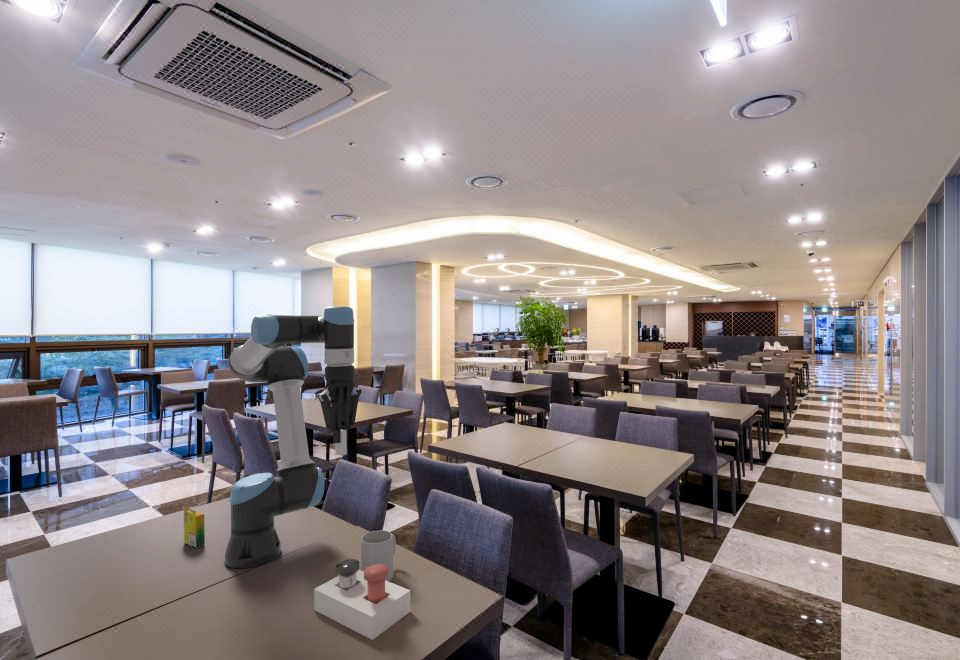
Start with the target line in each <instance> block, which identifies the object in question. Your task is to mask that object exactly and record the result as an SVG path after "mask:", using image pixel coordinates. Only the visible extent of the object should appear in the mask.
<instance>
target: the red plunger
mask: <svg viewBox="0 0 960 660" xmlns="http://www.w3.org/2000/svg"><path fill="white" fill-rule="evenodd" d="M387 576H388V567H387V566H386V565H383V564H375V565H371V566H369V567H367V568H366V569H365V570H364V579H365V580H366V581H367V588H368V601H370V602H372V603H374V604H377V603H379V602H380V601H382V600H383V599H385V578H386V577H387Z"/></svg>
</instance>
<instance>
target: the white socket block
mask: <svg viewBox="0 0 960 660" xmlns="http://www.w3.org/2000/svg"><path fill="white" fill-rule="evenodd" d="M313 600H314V601H313V602H314V604H313V607H314V611H315V612H317V613H319V614H321V615H323V616H325V617H327V618H329V619H331V620H333V621H335V622H336V623H338V624H341V625H342V626H345V627H347V628H348V629H350V630H352V631H353V632H356V633H358V634H360V635H362V636H364V637H366V638H367V639H370V640H371V641H373V640H375V639H376V638H377V637H378V636H380V635H381V634H383V633H384V632H385V631H386V630H388V629H389V628H391V627H392V626H393V625H394V624H396V623H397V622H399V621H400V620H401V619H403V618H405V616H406V615H408V614H410V613H411V612H412V611H411V590H410V589H408V588H405V587H403V586H401V585H398V584H395V583H393V582H390V581H389V582H388V581H386V580H385V599H383V600H382V601H380V602H379V603H377V604H374V603H372V602H370V601H368V588H367V581H366V580H365V579H364V572H363V571H362V569H361V570H360V569H359V570H358V571H357V572H356V586H354V587H352V588H351V589H349V590H347V591H346V590H343V589H341V588H339V575H337V576H335V577H334V578H331V579H330V580H328V581H326V582H324V583H323V584H321V585H319V586H316V587H315V588H314V589H313Z"/></svg>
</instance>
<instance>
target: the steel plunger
mask: <svg viewBox="0 0 960 660" xmlns="http://www.w3.org/2000/svg"><path fill="white" fill-rule="evenodd" d="M358 570H360V561H359V560H358V559H354V558H350V559H349V558H348V559H343V560H341V561H339V562H337V563H336V564H335V574H337V576H339V588H341V589H343V590H346V591H347V590H349V589H351V588H352V587H354V586H356V572H357V571H358Z"/></svg>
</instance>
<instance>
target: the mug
mask: <svg viewBox="0 0 960 660" xmlns="http://www.w3.org/2000/svg"><path fill="white" fill-rule="evenodd" d="M360 543H361V544H360V549H361V550H360V553H361V558H360V559H361V571H363V572H364V570H365V569H366V568H367V567H369V566H371V565H375V564H383V565H386V566H387V567H388V576H387V577H386V578H385V580H386V581H388V582H390V581H392V579H393V578H394V575H395V573H394V556H395V553H396V549H397V548H396V547H397V541H396V536H395V534H393V533H392V532H390V531H388V530H381V529H380V530H372V531H369V532H366V533H365V534H363V535H362V537H361V539H360Z"/></svg>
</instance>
